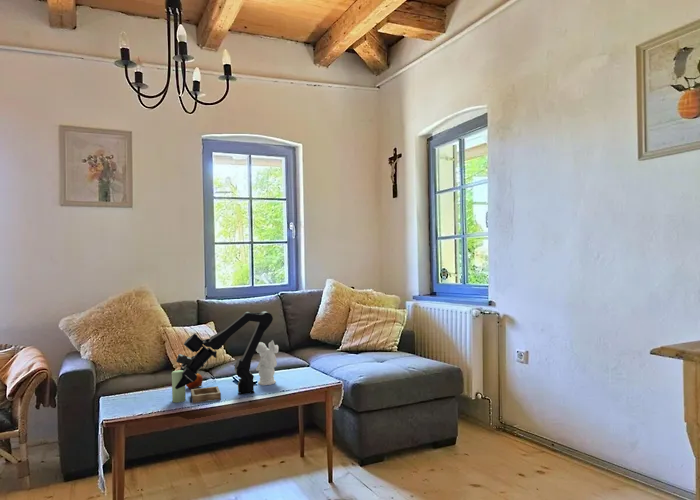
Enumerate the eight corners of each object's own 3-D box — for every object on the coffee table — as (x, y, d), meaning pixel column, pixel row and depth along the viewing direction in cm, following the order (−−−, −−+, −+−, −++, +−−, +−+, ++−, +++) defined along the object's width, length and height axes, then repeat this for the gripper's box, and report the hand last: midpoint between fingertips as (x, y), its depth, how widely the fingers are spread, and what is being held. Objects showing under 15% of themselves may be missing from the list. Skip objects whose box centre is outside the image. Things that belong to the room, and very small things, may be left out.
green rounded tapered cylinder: (185, 398, 233) (184, 369, 233) (185, 401, 228) (185, 372, 228) (172, 399, 231) (171, 371, 231) (172, 403, 226) (171, 373, 226)
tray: (217, 392, 241) (217, 386, 241) (220, 399, 229) (220, 392, 229) (191, 395, 236) (190, 389, 236) (192, 403, 225) (192, 396, 225)
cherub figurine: (253, 383, 256) (251, 339, 256) (272, 378, 266) (270, 335, 266) (269, 386, 248) (267, 341, 248) (288, 381, 258) (286, 337, 258)
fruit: (201, 387, 246) (193, 372, 247) (188, 395, 247) (180, 380, 248) (209, 382, 254) (201, 368, 254) (197, 390, 255) (189, 376, 256)
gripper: (185, 344, 239) (161, 370, 235) (188, 351, 222) (161, 379, 218) (203, 359, 242) (179, 385, 238) (207, 367, 225) (181, 395, 221)
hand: (175, 386), depth 229 cm, fingers open, 9 cm apart
